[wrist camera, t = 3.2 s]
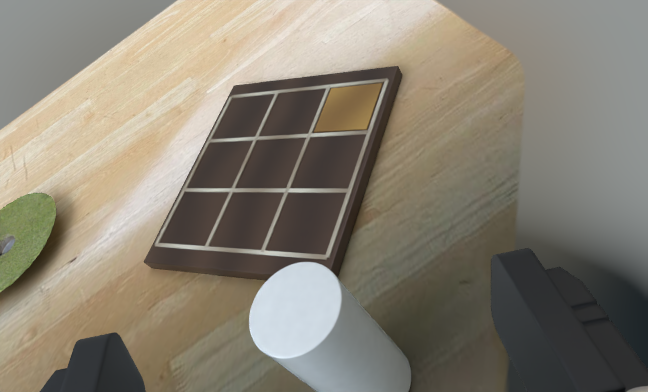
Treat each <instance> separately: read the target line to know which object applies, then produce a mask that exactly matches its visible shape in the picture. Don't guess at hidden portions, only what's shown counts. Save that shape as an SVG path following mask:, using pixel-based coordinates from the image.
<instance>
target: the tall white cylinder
mask: <svg viewBox="0 0 648 392" xmlns="http://www.w3.org/2000/svg"><path fill="white" fill-rule="evenodd" d="M249 327H250V333H251V336H252V339H253V341H254V343H255V344H256V346H257V347H258V348H259V349H260V350H261V351H262V352H263V353H265V354H266V355H268V356H269V357H270V358H272V359H273V360H274V361H276V362H277V363H278V364H280V365H281V366H282V367H284V368H285V369H286V370H288V371H289V372H290V373H292V374H293V375H294V376H296V377H297V378H299V379H300V380H301V381H303V382H304V383H305V384H307V385H308V386H309V387H311V388H312V389H313V390H315V391H316V392H409V389H410V384H411V369H410V365H409V362H408V359H407V358H406V356H405V354H404V353H403V352H402V350H401V349H400V348H399V347H398V346H397V345H396V344H395V342H394V341H393V340H392V339H391V338H390V337H389V336H388V334H387V333H386V332H385V331H384V330H383V329H382V328H381V326H380V325H379V324H378V323H377V322H376V321H375V320H374V319H373V317H372V316H371V315H370V314H369V313H368V312H367V311H366V309H365V308H364V307H363V306H362V305H361V304H360V303H359V301H358V300H357V299H356V298H355V297H354V296H353V295H352V293H351V292H350V291H349V290H348V289H347V288H346V287H345V285H344V284H343V283H342V282H341V281H340V280H339V279H338V278H337V276H336V275H335V274H334V273H333V272H332V271H331V270H330V269H328V268H327V267H325V266H323V265H321V264H318V263H314V262H299V263H295V264H292V265H289V266H287V267H285V268H283V269H281V270H279V271H278V272H276V273H275V274H274V275H272V276H271V277H270V278H269V279H268V280H267V281H266V282H265V283H264V285H263V286H262V287H261V289H260V290H259V291H258V293H257V295H256V297H255V299H254V301H253V304H252V307H251V311H250V317H249Z"/></svg>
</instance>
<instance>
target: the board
mask: <svg viewBox="0 0 648 392" xmlns="http://www.w3.org/2000/svg"><path fill="white" fill-rule="evenodd" d="M401 78H402V73H401V71H400V69H399V67H398V66H393V67H385V68H377V69H368V70H360V71H352V72H343V73H335V74H327V75H318V76H310V77H302V78H293V79H285V80H277V81H268V82H260V83H252V84H243V85H235V86H234V87H233V89H232V91H231V92H230V94H229V96H228V98H227V100H226V102H225V104H224V106H223V108H222V110H221V112H220V114H219V116H218V118H217V120H216V122H215V124H214V126H213V128H212V130H211V131H210V133H209V135H208V137H207V139H206V141H205V143H204V145H203V147H202V149H201V151H200V153H199V155H198V157H197V159H196V161H195V163H194V165H193V167H192V169H191V170H190V172H189V174H188V176H187V178H186V180H185V182H184V184H183V186H182V188H181V190H180V192H179V194H178V196H177V198H176V200H175V202H174V204H173V206H172V208H171V210H170V211H169V213H168V215H167V217H166V219H165V221H164V223H163V225H162V227H161V229H160V231H159V233H158V235H157V237H156V239H155V241H154V243H153V245H152V247H151V249H150V250H149V252H148V254H147V256H146V258H145V260H144V263H146V264H147V265H148V266H150V267H151V268H156V269H165V270H175V271H184V272H193V273H203V274H212V275H222V276H231V277H241V278H250V279H260V280H268V279H269V278H270V277H271V276H272V275H274V274H275V273H276V272H278V271H279V270H281V269H283V268H285V267H287V266H289V265H292V264H295V263H299V262H314V263H318V264H321V265H323V266H325V267H327V268H328V269H330V270H331V271H332V272H333V273H334V274H335V275H336V276H338V273H339V270H340V267H341V264H342V261H343V258H344V254H345V251H346V248H347V245H348V242H349V239H350V236H351V233H352V230H353V226H354V223H355V220H356V217H357V214H358V211H359V208H360V205H361V202H362V199H363V195H364V192H365V189H366V186H367V183H368V180H369V177H370V174H371V171H372V168H373V164H374V161H375V158H376V155H377V152H378V149H379V146H380V143H381V140H382V137H383V133H384V130H385V127H386V124H387V121H388V118H389V115H390V112H391V109H392V106H393V102H394V99H395V96H396V93H397V90H398V87H399V84H400V81H401Z"/></svg>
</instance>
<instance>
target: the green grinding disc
mask: <svg viewBox="0 0 648 392" xmlns="http://www.w3.org/2000/svg"><path fill="white" fill-rule="evenodd" d="M55 217H56V207H55V202H54V200H53V198H52V197H51V196H49V195H47V194H44V193H33V194H27V195H25V196H22V197H20V198H18V199H16V200H15V201H13V202H12V203H9V204H7V205H6V206H5V207H3V208H2V209H1V210H0V292H1V291H3V290H4V289H5V288H7V287H8V286H10V285H11V284H13V283H14V281H15V280H17V278H19V277H20V276H21V275H22V274H23V272H24V271H25V270H26V269H27V268H29V267H30V265H31V264H32V262H33V261H34V260H35V259H36V257H37V256H38V255H40V252H41V251H42V249H43V247H44V246H45V245H46V242H47V239H48V237H49V236H50V233H51V231H52V228H53V226H54V221H55Z"/></svg>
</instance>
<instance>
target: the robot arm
mask: <svg viewBox="0 0 648 392" xmlns="http://www.w3.org/2000/svg"><path fill="white" fill-rule="evenodd" d="M491 312H492V317H493V321H494V324H495V328H496V330H497V333H498V335H499V337H500V339H501V341H502V343H503V345H504V347H505V349H506V351H507V353H508V355H509V357H510V359H511V361H512V363H513V365H514V366H515V368H516V371H517V373H518V374H519V376H520V378H521V380H522V382H523V384H524V386H525V388H526V390H527V392H648V369H647V367H646V366H645V365H644V364H643V362H642V361H641V359H640V358H639V357H638V355H637V354H636V353H635V352H634V350H633V349H632V347H631V346H630V345H629V343H628V342H627V341H626V339H625V338H624V337H623V335H622V334H621V333H620V332H619V330H618V329H617V327H616V326H615V325H614V323H613V322H612V321H610V320H609V318H608V315H607V314H606V313H605V311H604V310H603V309H602V307H601V306H600V305H598V304H597V301H596V299H595V298H594V297H593V295H592V294H591V293H590V291H589V290H588V289H587V287H586V286H585V285H584V283H583V282H582V281H580V280H579V279H577V278H576V277H574V276H572V275H571V274H570V273H568V272H567V271H565V270H564V269H562V268H561V267H557V268H552V269H547V270H545V269H544V267H543V266H542V264H541V263H540V261H539V260H538V258H537V257H536V255H535V254H534V253H533V251H532V250H531V249H529V248H525V249H520V250H515V251H511V252H506V253H501V254H496V255H493V256H492V259H491ZM40 392H146V391H145V385H144V382H143V379H142V377H141V375H140V373H139V371H138V369H137V367H136V365H135V363H134V361H133V360H132V358H131V356H130V354H129V352H128V350H127V348H126V346H125V344H124V343H123V341H122V339H121V337H120V336H119V335H118V334H117V333H109V334H105V335H100V336H95V337H90V338H85V339H80V340H78V341H77V342H76V344H75V346H74V349H73V352H72V355H71V358H70V361H69V364H68V368H65V369H61V370H56V371H55V372H54V373H53V375H52V376H51V377H50V379H49V380H48V381H47V383H46V384H45V385H44V387H43V388H42V389H41V391H40Z"/></svg>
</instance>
